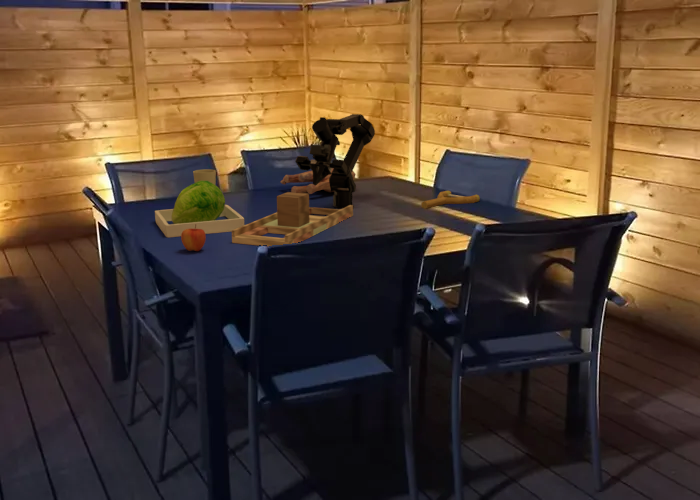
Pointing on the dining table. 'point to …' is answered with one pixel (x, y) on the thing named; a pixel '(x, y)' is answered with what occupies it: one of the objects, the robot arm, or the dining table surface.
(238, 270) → the dining table surface
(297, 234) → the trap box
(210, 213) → the lettuce
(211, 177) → the mug
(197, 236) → the apple
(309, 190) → the sculpture
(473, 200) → the slingshot
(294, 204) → the walnut block
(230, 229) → the lettuce crate rim
